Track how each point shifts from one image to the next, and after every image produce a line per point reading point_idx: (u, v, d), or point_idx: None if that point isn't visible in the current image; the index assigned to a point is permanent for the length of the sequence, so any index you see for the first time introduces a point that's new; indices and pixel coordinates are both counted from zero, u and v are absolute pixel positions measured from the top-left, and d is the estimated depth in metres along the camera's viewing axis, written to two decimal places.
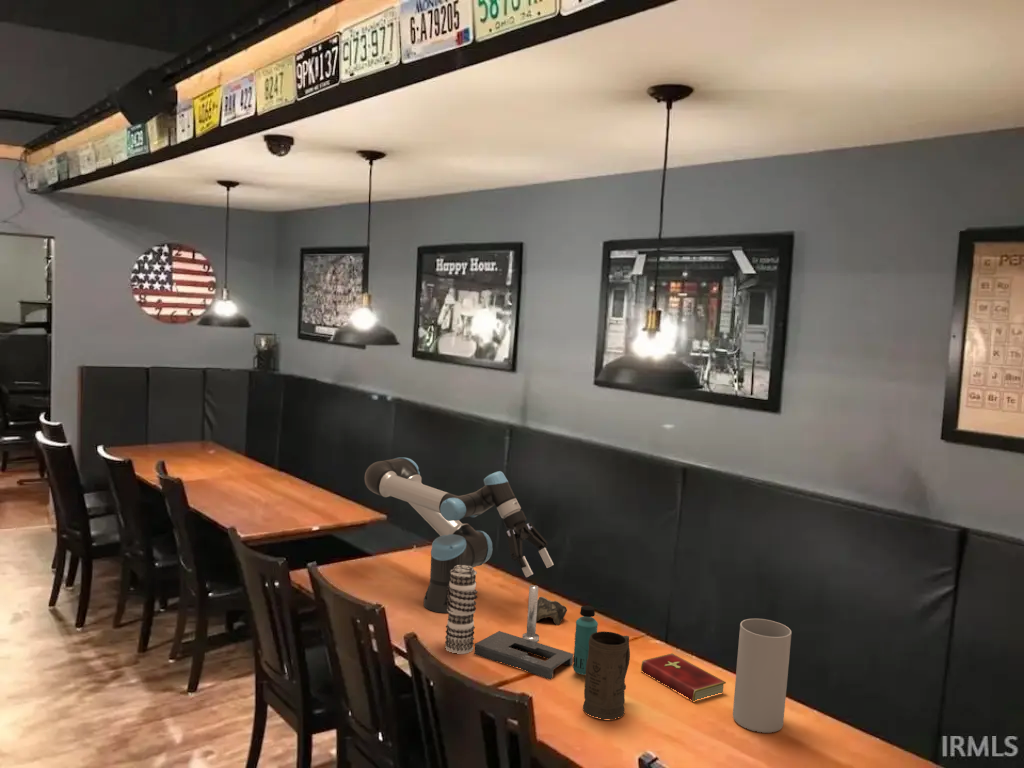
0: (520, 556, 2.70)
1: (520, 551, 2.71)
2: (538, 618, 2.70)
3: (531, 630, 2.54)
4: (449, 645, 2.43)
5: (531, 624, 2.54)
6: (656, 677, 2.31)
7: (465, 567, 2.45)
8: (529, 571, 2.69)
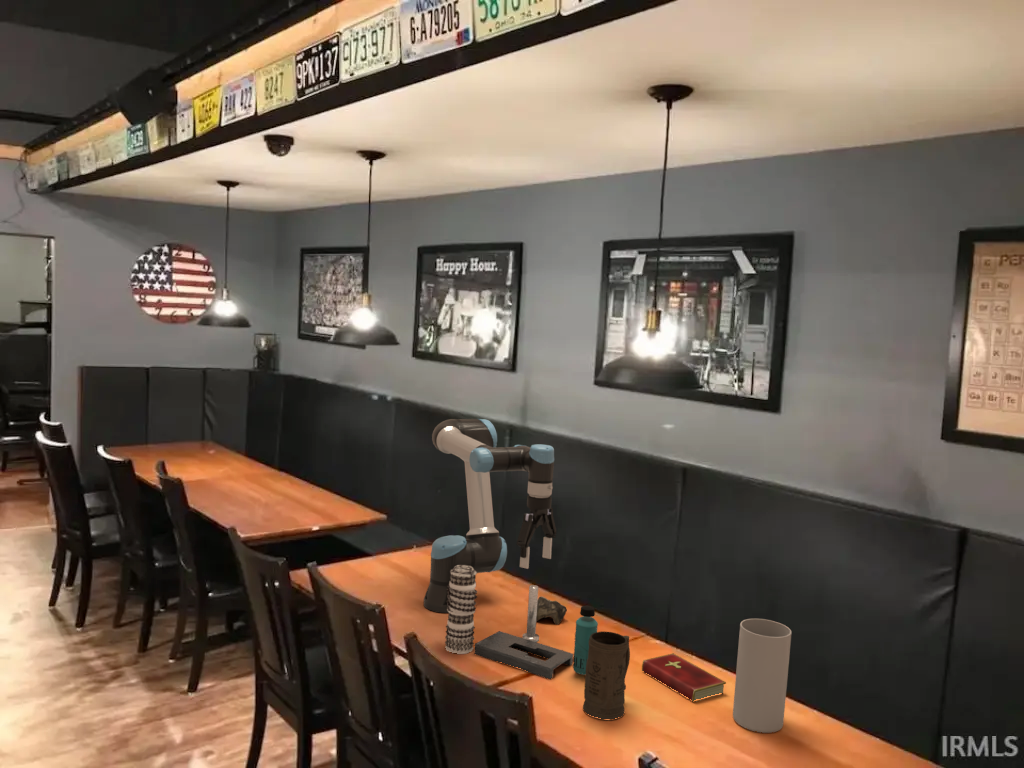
0: (526, 547, 2.46)
1: (528, 541, 2.47)
2: (538, 618, 2.70)
3: (531, 630, 2.54)
4: (449, 645, 2.43)
5: (531, 624, 2.54)
6: (656, 677, 2.31)
7: (465, 567, 2.45)
8: (526, 564, 2.47)
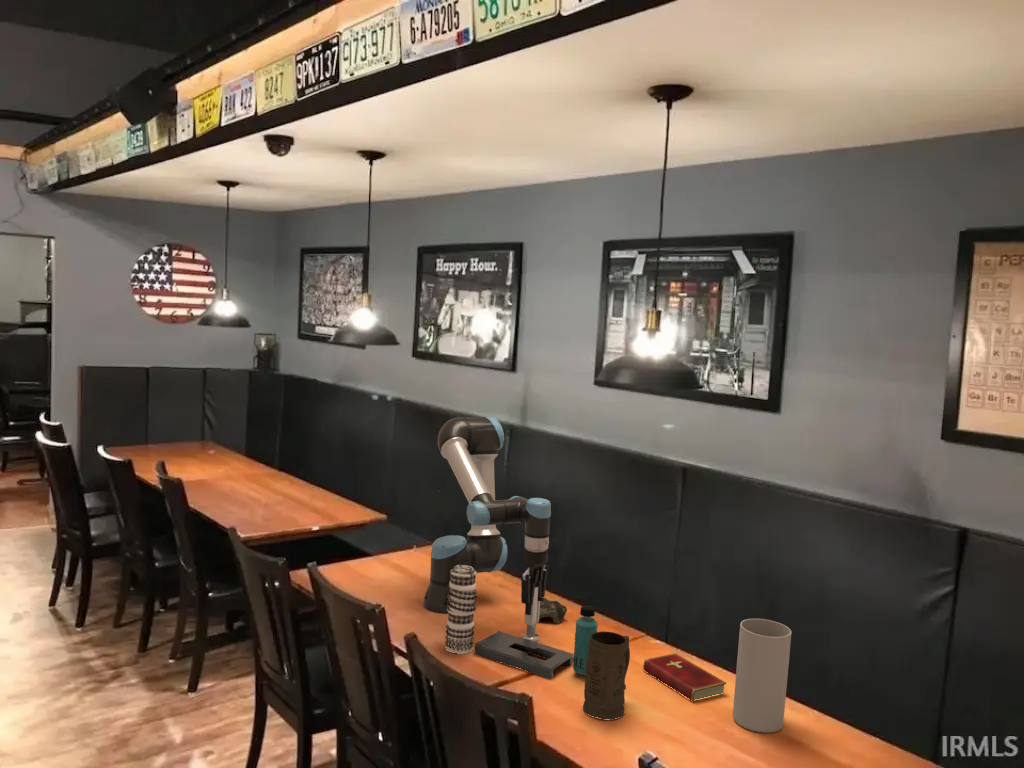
0: (531, 605, 2.52)
1: (532, 598, 2.52)
2: None
3: (531, 630, 2.54)
4: (449, 645, 2.43)
5: None
6: (657, 676, 2.32)
7: (465, 567, 2.45)
8: (531, 621, 2.53)
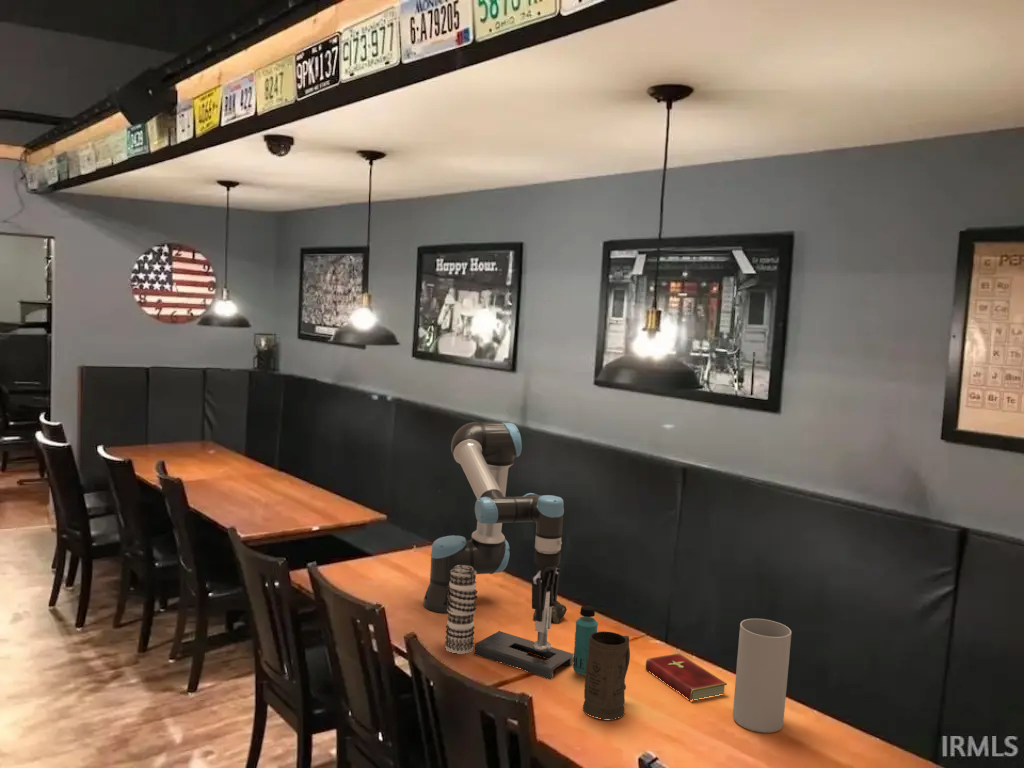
0: (542, 611, 2.33)
1: (543, 604, 2.33)
2: None
3: (542, 638, 2.35)
4: (449, 645, 2.43)
5: None
6: (658, 675, 2.32)
7: (465, 567, 2.45)
8: (542, 628, 2.34)
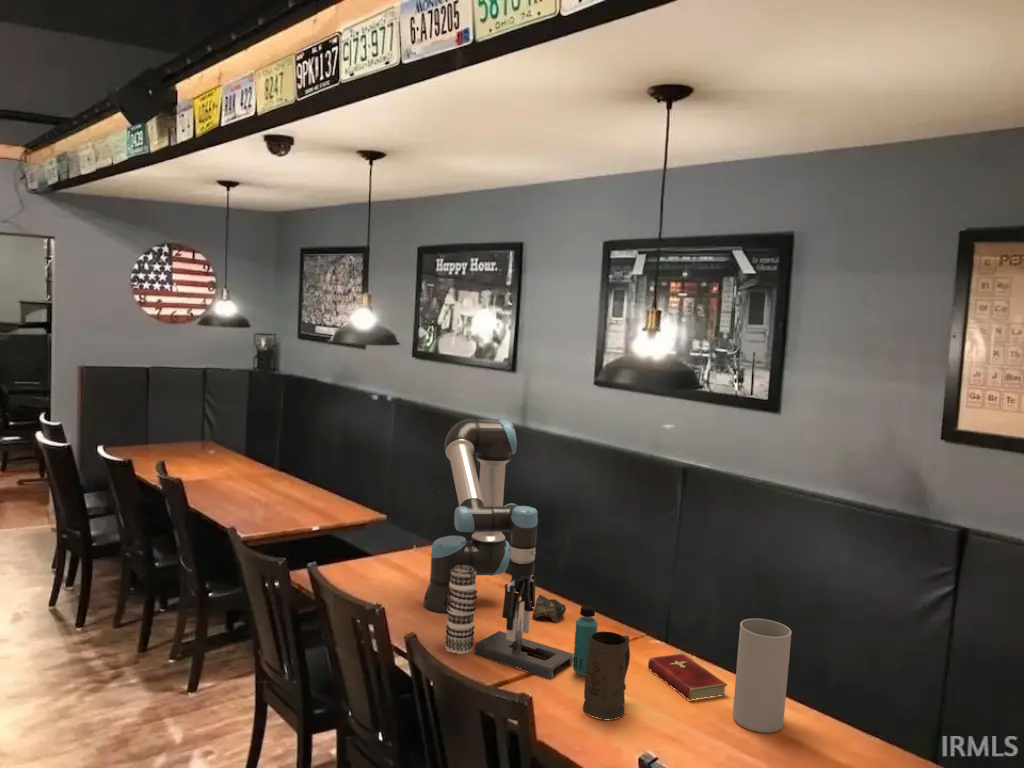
0: (512, 619, 2.36)
1: (514, 613, 2.36)
2: (537, 616, 2.72)
3: (517, 647, 2.40)
4: (449, 645, 2.43)
5: (517, 640, 2.40)
6: (660, 675, 2.33)
7: (465, 567, 2.45)
8: (512, 636, 2.37)
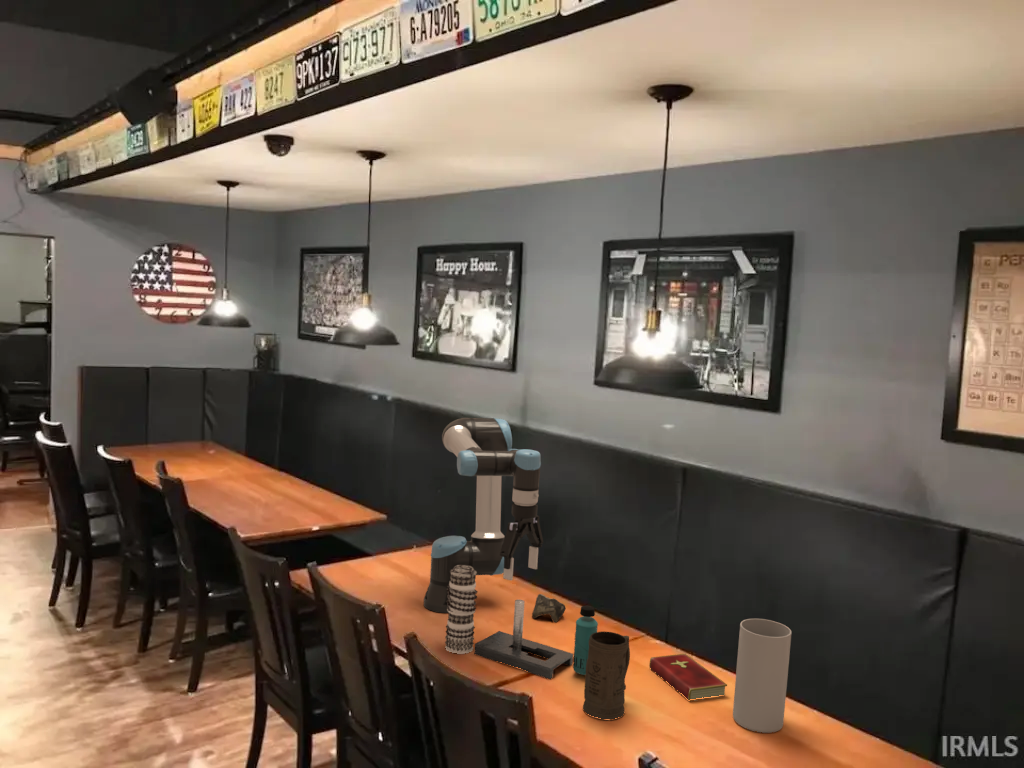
0: (509, 557, 2.33)
1: (512, 551, 2.34)
2: (536, 615, 2.72)
3: (517, 647, 2.40)
4: (449, 645, 2.43)
5: (517, 640, 2.40)
6: (660, 674, 2.33)
7: (465, 567, 2.45)
8: (510, 575, 2.35)
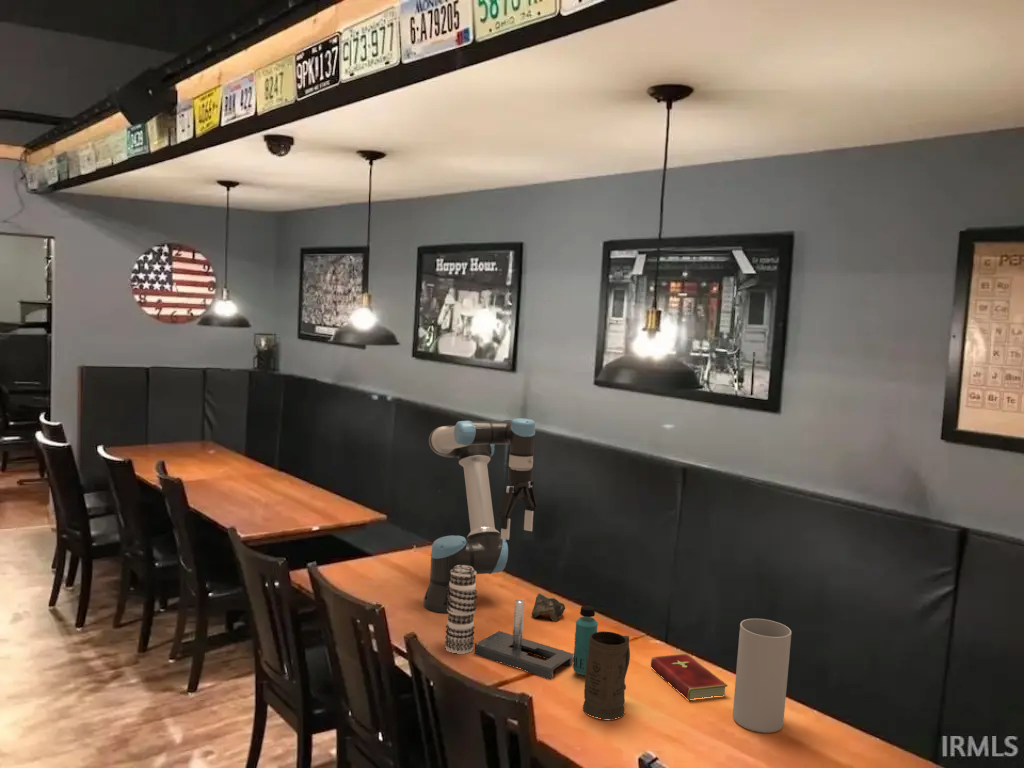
0: (506, 518, 2.50)
1: (509, 513, 2.51)
2: (536, 614, 2.73)
3: (517, 647, 2.40)
4: (449, 645, 2.43)
5: (517, 640, 2.40)
6: (661, 674, 2.33)
7: (465, 567, 2.45)
8: (507, 535, 2.52)
